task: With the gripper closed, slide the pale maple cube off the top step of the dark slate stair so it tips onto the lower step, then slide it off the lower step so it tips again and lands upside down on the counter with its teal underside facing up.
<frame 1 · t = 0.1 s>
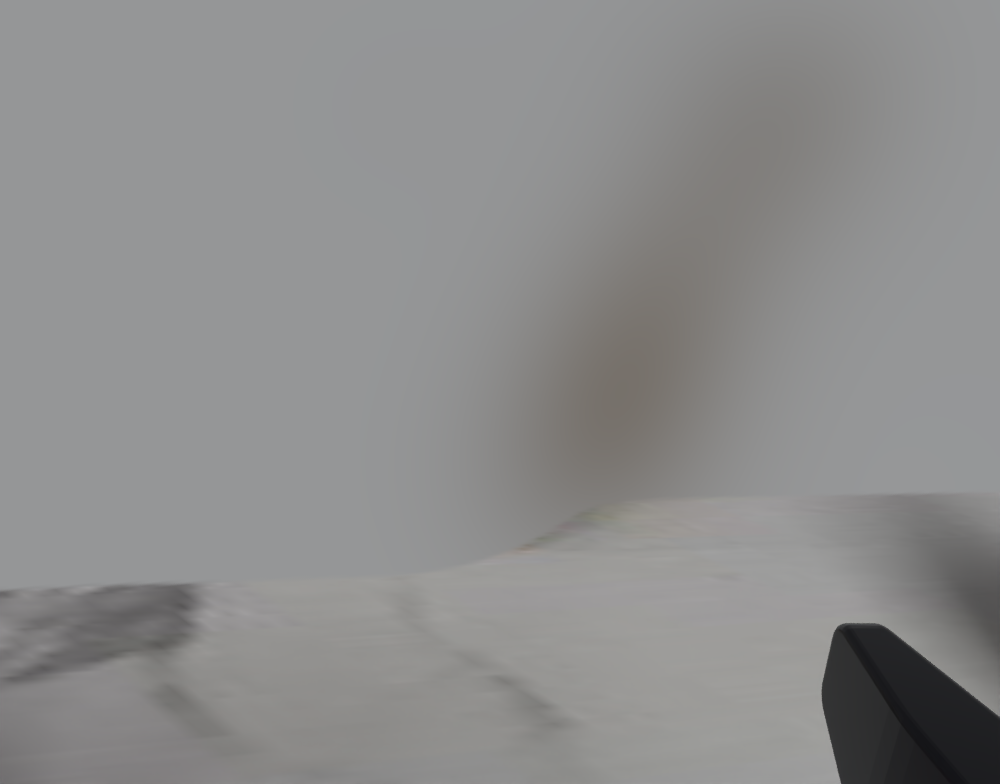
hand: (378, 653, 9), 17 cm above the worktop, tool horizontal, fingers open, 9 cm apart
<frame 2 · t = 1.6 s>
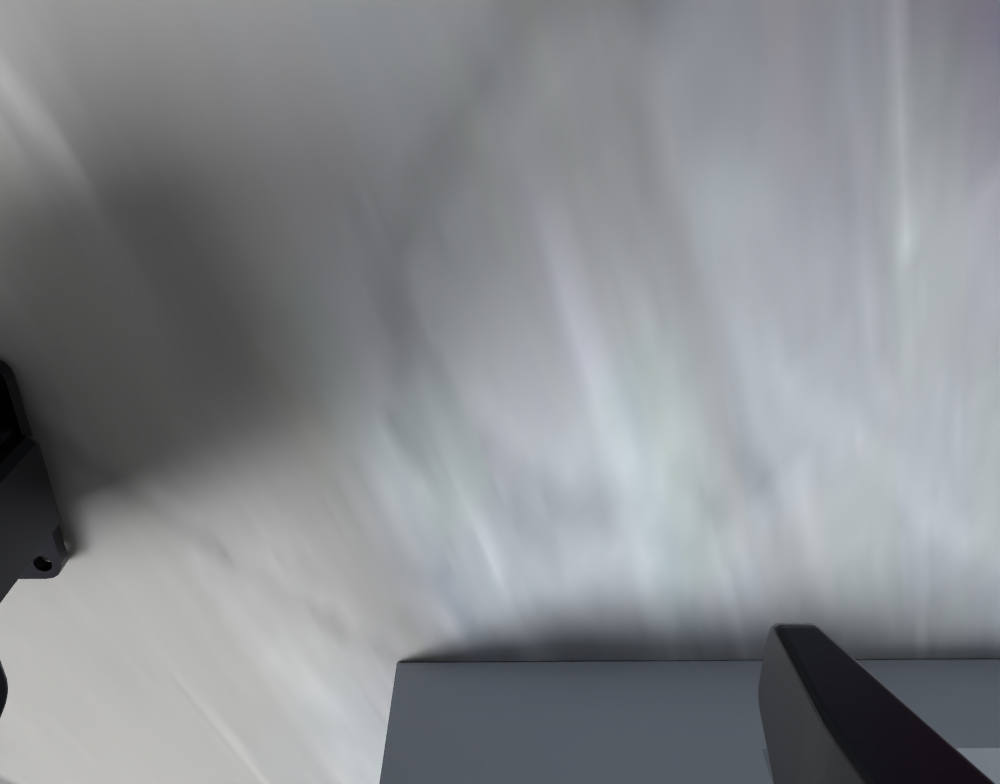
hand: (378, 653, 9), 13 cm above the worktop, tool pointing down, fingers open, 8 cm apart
slate stair: (701, 776, 29), on the worktop
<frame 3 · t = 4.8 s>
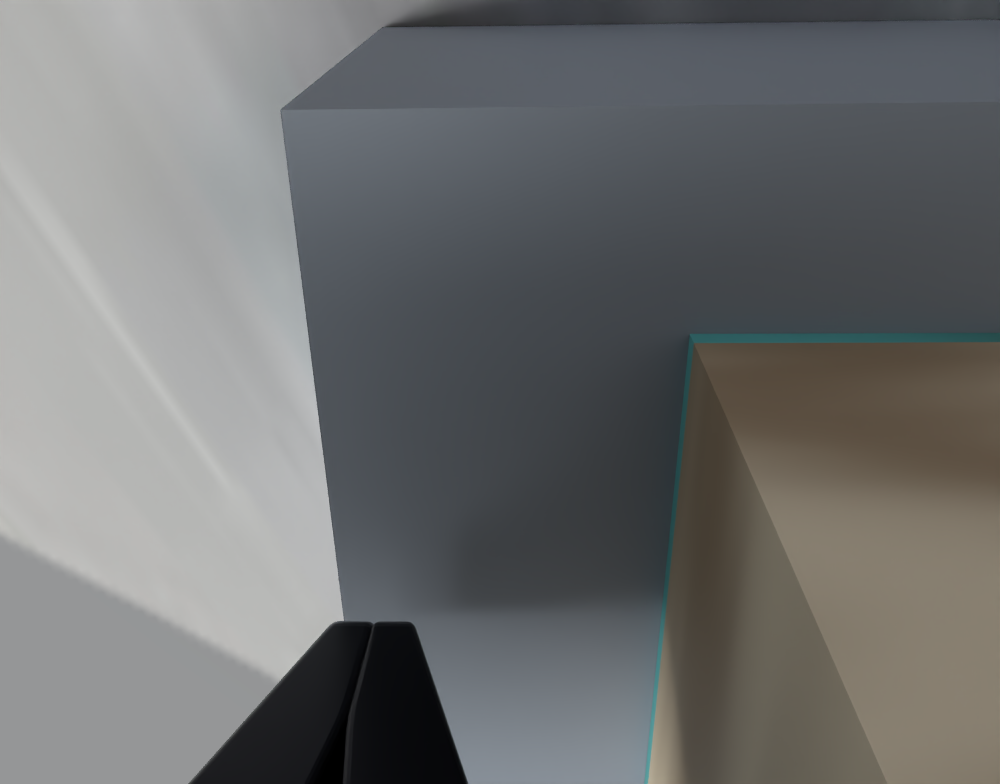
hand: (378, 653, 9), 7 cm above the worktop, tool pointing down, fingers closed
maple cube: (948, 592, 9), point 6 cm above the worktop, touching gripper
slate stair: (965, 338, 15), on the worktop
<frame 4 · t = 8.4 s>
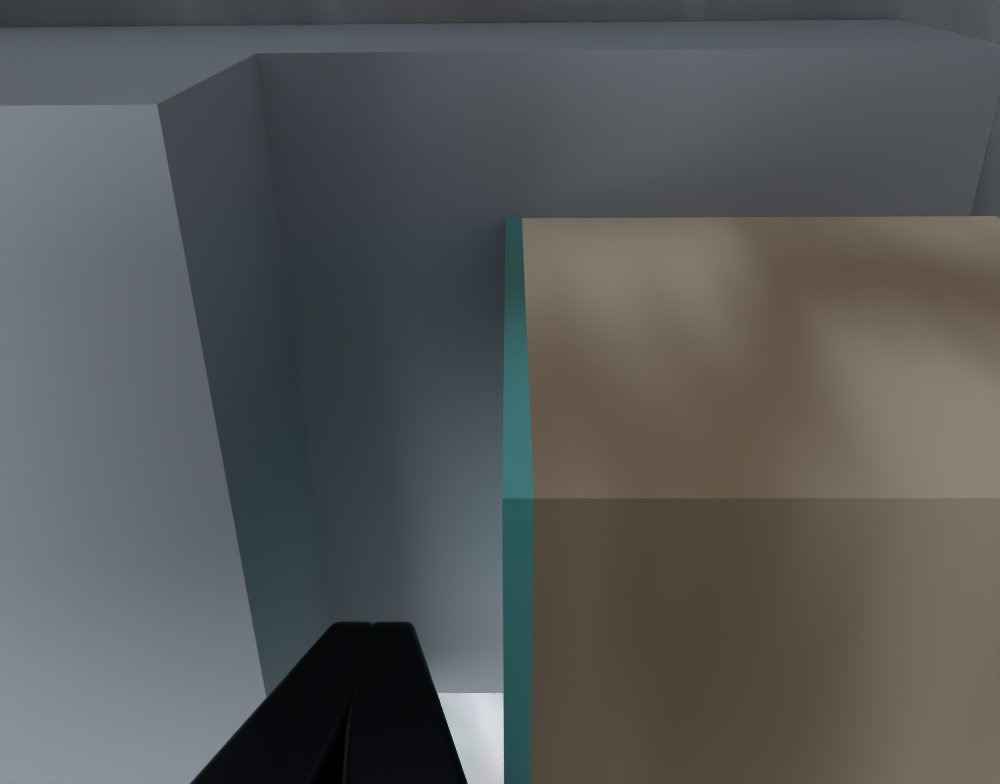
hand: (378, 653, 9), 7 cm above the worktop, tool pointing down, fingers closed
maple cube: (505, 567, 10), point 6 cm above the worktop, tilted 90°, touching gripper
slate stair: (314, 338, 15), on the worktop
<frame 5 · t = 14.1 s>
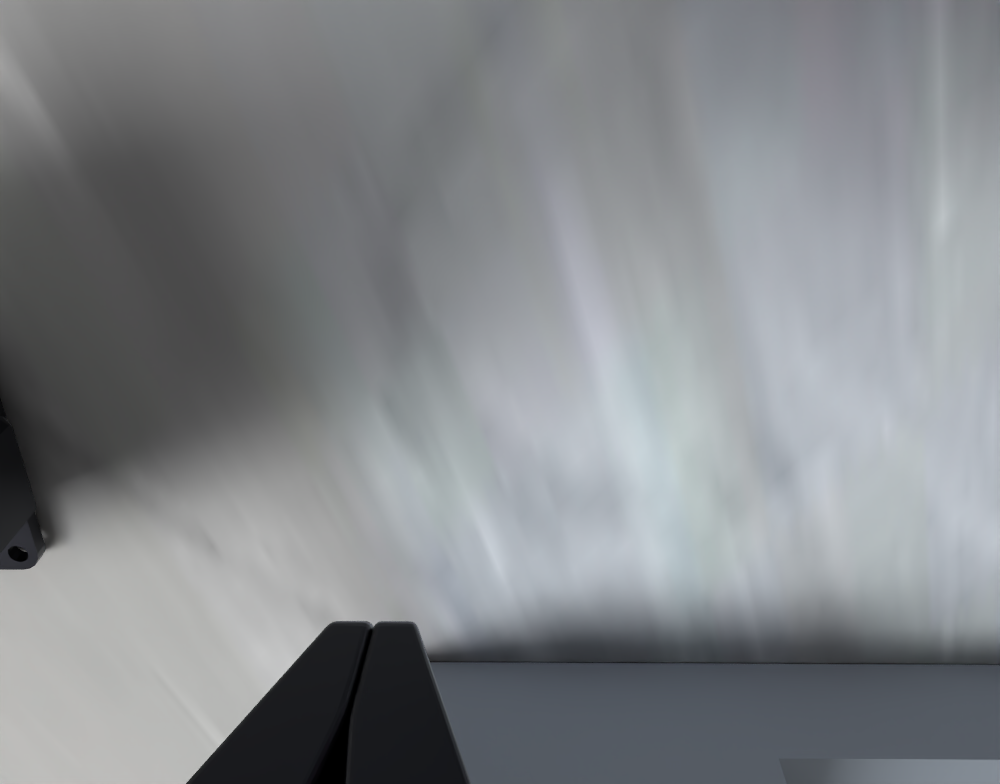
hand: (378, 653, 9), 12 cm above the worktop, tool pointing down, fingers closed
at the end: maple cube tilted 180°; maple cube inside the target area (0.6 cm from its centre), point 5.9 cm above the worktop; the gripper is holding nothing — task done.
